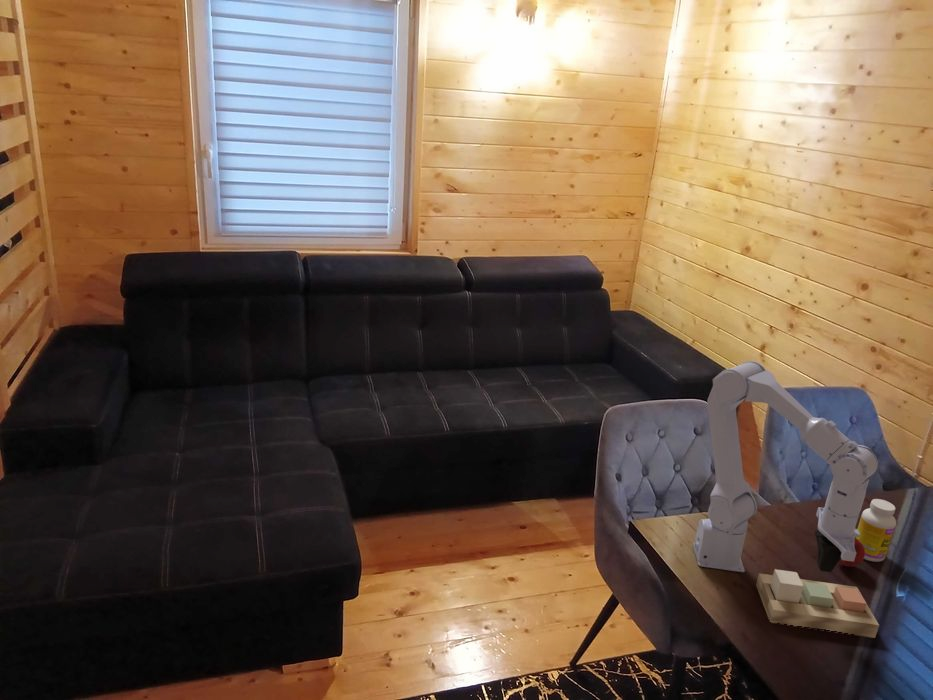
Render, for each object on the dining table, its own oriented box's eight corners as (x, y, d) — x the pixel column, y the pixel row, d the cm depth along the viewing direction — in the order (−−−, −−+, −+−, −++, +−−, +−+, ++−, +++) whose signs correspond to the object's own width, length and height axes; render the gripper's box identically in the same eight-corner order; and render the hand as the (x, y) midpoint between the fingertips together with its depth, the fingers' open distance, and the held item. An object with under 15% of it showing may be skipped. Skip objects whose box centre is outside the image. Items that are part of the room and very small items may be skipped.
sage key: (806, 612, 134) (810, 595, 133) (799, 598, 138) (804, 581, 137) (828, 615, 134) (833, 599, 132) (821, 601, 138) (826, 584, 136)
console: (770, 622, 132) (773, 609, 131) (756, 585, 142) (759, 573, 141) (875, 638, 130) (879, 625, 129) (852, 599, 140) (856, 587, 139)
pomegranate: (863, 576, 148) (873, 545, 145) (834, 571, 149) (844, 540, 146) (854, 560, 153) (864, 529, 150) (827, 555, 154) (836, 524, 151)
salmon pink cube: (838, 617, 134) (843, 600, 132) (830, 602, 137) (835, 586, 136) (861, 620, 133) (866, 603, 132) (853, 605, 137) (858, 589, 136)
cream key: (776, 599, 134) (780, 582, 133) (770, 585, 138) (774, 569, 137) (798, 603, 134) (803, 586, 132) (792, 588, 138) (796, 572, 136)
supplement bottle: (878, 567, 151) (894, 516, 147) (846, 551, 156) (861, 502, 151) (889, 555, 155) (905, 506, 151) (858, 541, 160) (872, 493, 156)
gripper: (881, 534, 121) (861, 597, 126) (850, 491, 135) (833, 549, 139) (839, 528, 122) (820, 591, 127) (812, 486, 135) (796, 544, 140)
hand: (824, 569), depth 133 cm, fingers closed
